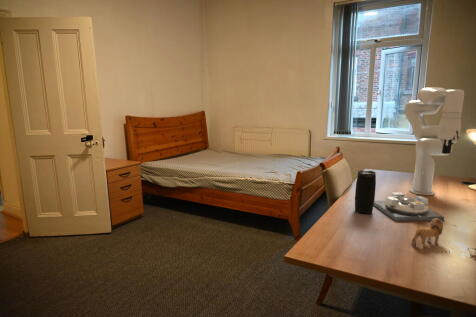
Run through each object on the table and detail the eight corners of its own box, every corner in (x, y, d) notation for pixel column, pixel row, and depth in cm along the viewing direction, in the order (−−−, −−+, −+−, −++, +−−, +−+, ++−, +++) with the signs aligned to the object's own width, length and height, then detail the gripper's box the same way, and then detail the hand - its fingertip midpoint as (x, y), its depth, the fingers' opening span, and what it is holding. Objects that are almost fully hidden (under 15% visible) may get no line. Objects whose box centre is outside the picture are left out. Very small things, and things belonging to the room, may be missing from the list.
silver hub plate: (411, 201, 155) (412, 191, 154) (437, 214, 137) (438, 203, 136) (377, 201, 153) (378, 192, 152) (399, 215, 136) (400, 204, 135)
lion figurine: (430, 237, 119) (433, 215, 118) (444, 242, 115) (448, 220, 113) (407, 245, 112) (410, 222, 111) (421, 251, 108) (424, 227, 106)
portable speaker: (370, 208, 150) (373, 170, 146) (375, 215, 141) (379, 174, 137) (351, 207, 151) (355, 169, 147) (356, 214, 142) (359, 173, 138)
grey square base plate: (372, 204, 156) (372, 200, 156) (413, 204, 157) (414, 200, 157) (395, 221, 135) (396, 216, 134) (443, 220, 135) (444, 216, 135)
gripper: (433, 115, 154) (428, 150, 158) (455, 116, 139) (449, 156, 143) (448, 115, 154) (443, 150, 158) (471, 116, 140) (465, 156, 143)
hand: (446, 153), depth 150 cm, fingers closed
